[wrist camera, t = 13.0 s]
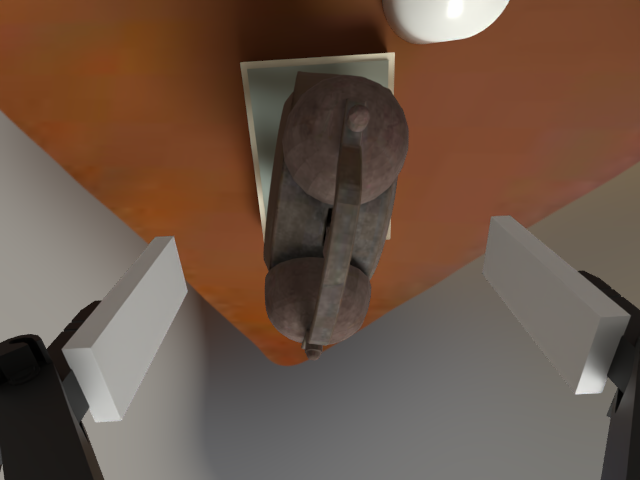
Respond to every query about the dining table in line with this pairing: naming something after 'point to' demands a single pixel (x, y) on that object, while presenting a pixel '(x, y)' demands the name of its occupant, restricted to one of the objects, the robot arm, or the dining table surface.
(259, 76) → the picture frame
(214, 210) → the dining table surface
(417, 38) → the dome-top cylinder
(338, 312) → the alarm clock
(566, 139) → the dining table surface
